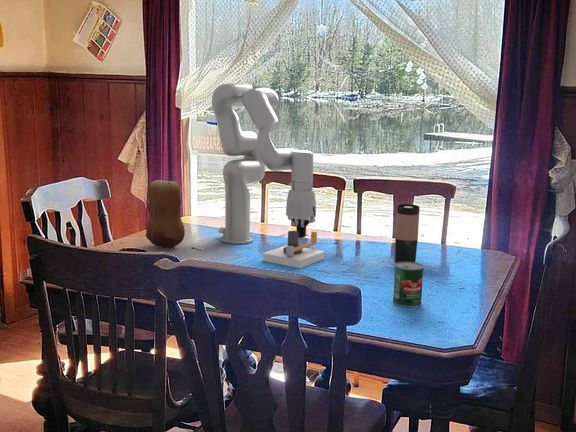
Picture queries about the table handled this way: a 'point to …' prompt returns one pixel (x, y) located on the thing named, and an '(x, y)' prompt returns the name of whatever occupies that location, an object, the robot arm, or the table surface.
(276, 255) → the white square base
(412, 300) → the canned tomato
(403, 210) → the travel mug
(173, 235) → the butternut squash
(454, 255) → the table surface
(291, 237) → the plug
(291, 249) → the orange crank handle
